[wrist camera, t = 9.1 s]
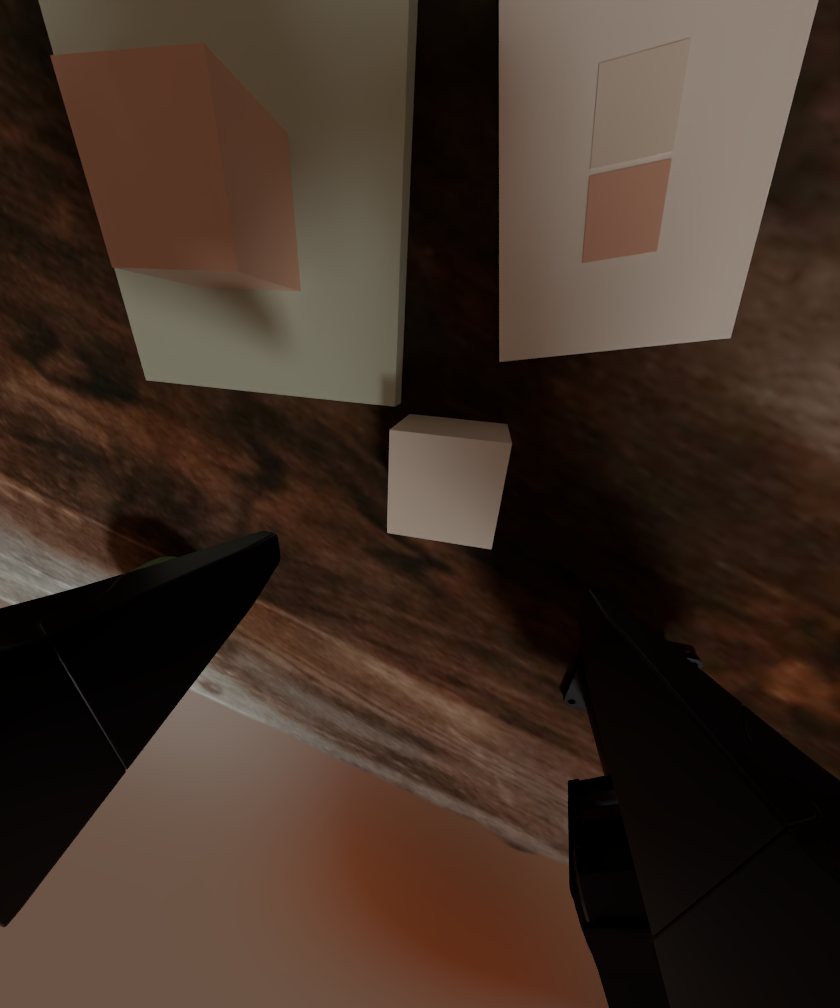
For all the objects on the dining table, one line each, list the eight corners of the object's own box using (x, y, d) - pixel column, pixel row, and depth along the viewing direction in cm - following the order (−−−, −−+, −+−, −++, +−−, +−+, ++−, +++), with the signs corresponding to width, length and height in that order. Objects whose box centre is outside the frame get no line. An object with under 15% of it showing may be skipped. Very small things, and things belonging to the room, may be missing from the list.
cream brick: (491, 511, 18) (491, 549, 15) (406, 499, 19) (386, 532, 16) (507, 423, 16) (512, 443, 13) (410, 413, 17) (389, 429, 13)
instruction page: (727, 338, 13) (731, 337, 13) (499, 361, 15) (499, 361, 15) (863, -190, 8) (873, -204, 8) (498, -54, 10) (498, -62, 10)
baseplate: (400, 403, 17) (394, 406, 16) (165, 378, 19) (146, 380, 18) (419, -40, 11) (411, -84, 9) (66, -7, 13) (27, -40, 11)
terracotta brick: (301, 291, 14) (238, 271, 11) (201, 287, 15) (112, 267, 11) (287, 133, 12) (203, 42, 9) (171, 137, 13) (50, 55, 9)
